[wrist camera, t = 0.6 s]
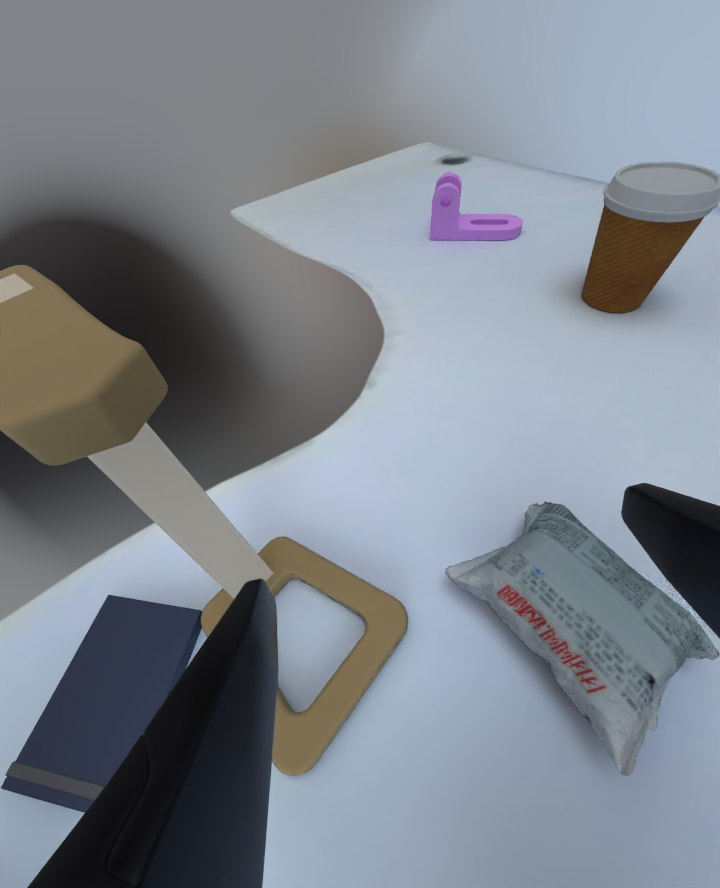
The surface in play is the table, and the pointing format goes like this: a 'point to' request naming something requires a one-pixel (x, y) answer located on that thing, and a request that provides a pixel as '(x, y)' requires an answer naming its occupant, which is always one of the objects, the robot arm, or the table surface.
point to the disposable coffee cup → (645, 229)
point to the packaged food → (589, 623)
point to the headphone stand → (167, 484)
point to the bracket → (466, 217)
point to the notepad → (104, 700)
